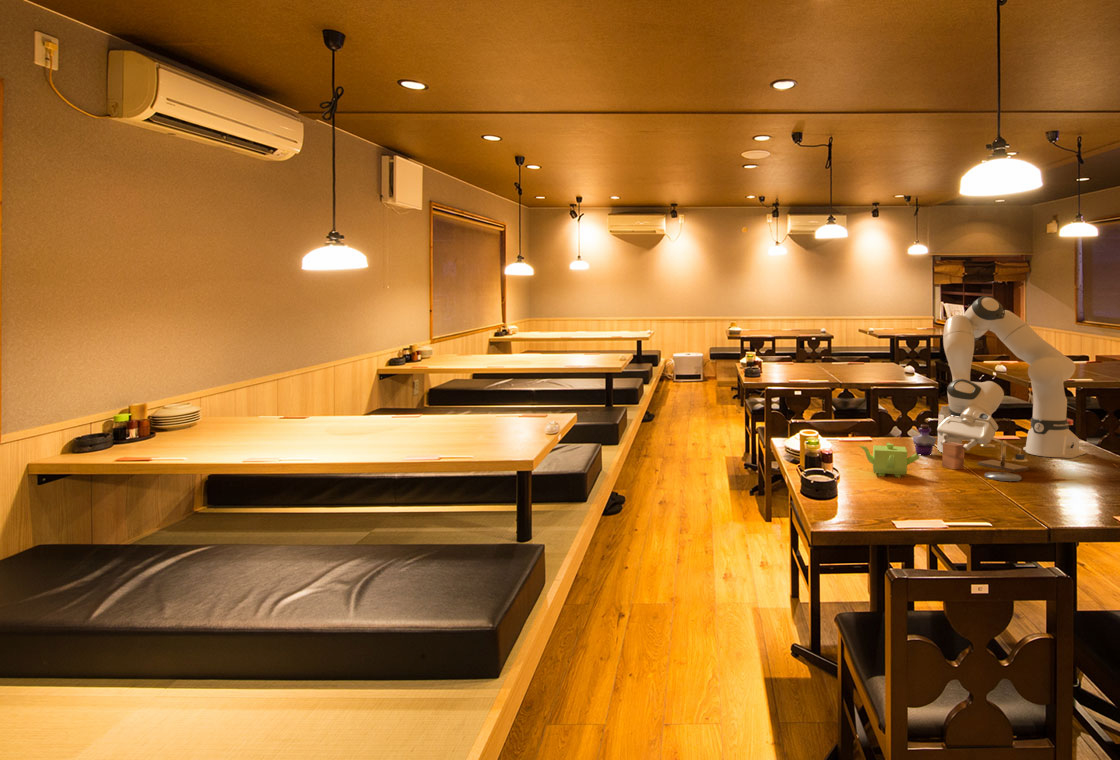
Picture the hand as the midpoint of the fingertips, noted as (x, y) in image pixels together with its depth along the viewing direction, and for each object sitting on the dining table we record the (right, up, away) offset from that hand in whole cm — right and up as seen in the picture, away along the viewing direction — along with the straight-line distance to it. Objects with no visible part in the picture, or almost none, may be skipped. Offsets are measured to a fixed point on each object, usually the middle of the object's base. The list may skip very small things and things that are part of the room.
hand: (953, 447), depth 270 cm
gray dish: (+9, -9, -16) cm, 20 cm away
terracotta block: (0, -8, 0) cm, 8 cm away
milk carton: (+12, -5, +26) cm, 29 cm away
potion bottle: (0, -5, +23) cm, 24 cm away
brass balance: (+17, -8, -1) cm, 19 cm away
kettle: (-28, -9, -7) cm, 30 cm away
